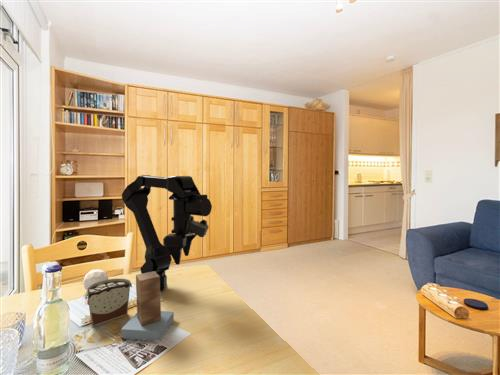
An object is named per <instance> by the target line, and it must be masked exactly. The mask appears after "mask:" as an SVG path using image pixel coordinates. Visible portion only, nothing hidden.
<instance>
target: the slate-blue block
mask: <svg viewBox="0 0 500 375" xmlns="http://www.w3.org/2000/svg"><path fill="white" fill-rule="evenodd" d="M174 313H175V312H174V311H170V310H167V311H166V310H161V320H160V321H157V322H153V323H150V324H147V325H144V326H141V324H140V322H139V320H138V318H137V312H136V314H135V315H133V316H132V318H130V319H129V320H128V322H126V324H124V326H122V328H121V332H120V334H121V335H120V338H124V339H125V340H136V339H145V340H144V341H151V340H160V341H161V339H162V338H163V336H164V335H165V334H164V333H166V332H167V331H168V329H169V328H170V326H171V324H172V323H173V322H174V320H175V319H174V318H175V317H174V315H175V314H174ZM166 330H167V331H166ZM161 337H162V338H161ZM124 339H123V340H124Z"/></svg>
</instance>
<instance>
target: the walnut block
mask: <svg viewBox="0 0 500 375" xmlns="http://www.w3.org/2000/svg"><path fill="white" fill-rule="evenodd" d="M135 287H136V293H135V294H136V313H137V318H138V320H139V322H140V324H141V326H144V325H147V324H150V323H153V322H157V321H160V320H161V311H162V309H161V306H162V305H161V292H160V276H159V275H158V274H157V273H156V272H155V271H153V272H148V273H143V274H141V273H139V274H135Z"/></svg>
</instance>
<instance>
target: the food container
mask: <svg viewBox="0 0 500 375" xmlns="http://www.w3.org/2000/svg"><path fill="white" fill-rule="evenodd" d="M130 288H133V284H132V282H131V280H130V279H127V278H110V279H109V278H108V280H103V281H100V282H97V283H95V284H92V285H91V286H90V287H88V289H87V290H86V291H85V295H84V299H85V300H87V302H88V308H89V315H90V321H91V326H92V327H95V326H98V325H100V324H105V323H107V322H110V321H112V320H116V319H119V318H121V317H124V316H127V315H128V313H129V312H128V311H129V300H130Z"/></svg>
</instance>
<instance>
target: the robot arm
mask: <svg viewBox="0 0 500 375" xmlns="http://www.w3.org/2000/svg"><path fill="white" fill-rule="evenodd" d="M152 188H158V189H164V190H167V191H168V192H170V193H172V194H171V195H169V197H168V200H172V201H173V203H172V204H173V205H172V206H173V210H172V211H173V216H171V218H170V219H171V221H172V222H173V228H172V229H171V233H168V234H167V235H166V236H164V237H163V239H162V242H160V240H159V237H158V234H157V231H156V229H155V226H154V223H153V220H152V218H151V215H150V212H149V210H148V205H149V204H148V203H149V198H148V196H149V195H150V194H151V191H152V190H151V189H152ZM121 199H122V201H123V203H124V205H125V207H126V208H127V209H128V210H129V211H130V212H132V214H133V216H134V218H135V222H136V224H137V227H138V229H139V232H140V235H141V237H142V240H143V243H144V246H145V252H144V254H145V255H144V260H145V262H144V263H143V265H142V266H141V267H140V274H143V273H148V272H153V271H155V272H156V273H157V274H158V275H159V276H160V293H162V291H163V290H164V289H166V287H167V286H168V282H167V279H168V276H167V274H166V271H169V270H170V265H171V264H172V261H173V262H174V263H175V264H176V265H180V264H181V259H182V258H181V257H182V251H183V254H184V256H185V257H188V256H189V255H190V250H191V246H192V243H193V240H194V239H195V238H197V236H198V237H200V238H204V237H205V236H206V234H207V232H208V230H209V225H208V220H205V219H202V220H200V221H199V220H198V221H197V220H195V217H194V216H200V217H208V216H209V215H210V214H211V212H212V208H213V206H212V203H211V200H210V199H209V198H208V194H201V192H200V190H199V189H198V187H197V185H196V184H195V181H194V179H193V177H192V176H190V175H175V176H168V177H166V176H164V177H163V176H157V175H156V176H154V175H150V174H149V175H148V174H146V175H145V174H141V175H138V176H137V177H136V179H135V180H133V181H132V182H131V183H129V184H128V185H127V186H126V187H125V189H124V190H123V191H122V193H121Z"/></svg>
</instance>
